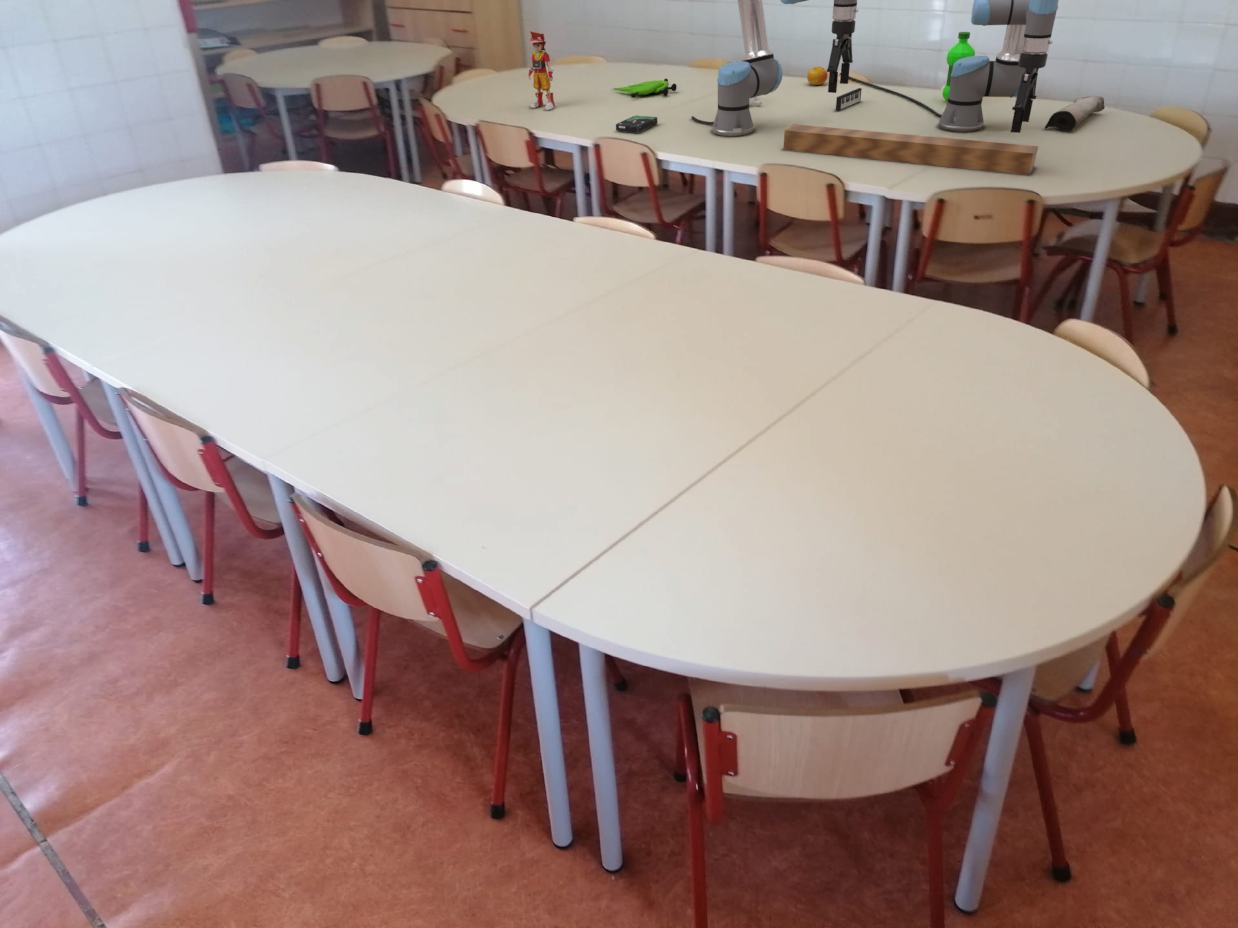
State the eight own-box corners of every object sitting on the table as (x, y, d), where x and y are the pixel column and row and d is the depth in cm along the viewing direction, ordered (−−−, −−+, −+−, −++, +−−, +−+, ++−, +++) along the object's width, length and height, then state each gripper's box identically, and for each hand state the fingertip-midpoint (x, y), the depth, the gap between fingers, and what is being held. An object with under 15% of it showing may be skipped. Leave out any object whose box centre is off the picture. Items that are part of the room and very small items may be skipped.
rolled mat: (1071, 101, 334) (1096, 83, 326) (1085, 121, 335) (1110, 105, 327) (1040, 123, 317) (1065, 105, 309) (1054, 144, 318) (1080, 127, 309)
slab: (783, 150, 314) (784, 130, 310) (792, 143, 320) (793, 124, 316) (1028, 175, 278) (1033, 153, 274) (1033, 167, 284) (1038, 146, 280)
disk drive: (638, 134, 340) (658, 124, 350) (638, 126, 338) (657, 116, 349) (615, 131, 345) (635, 121, 355) (615, 124, 343) (635, 114, 353)
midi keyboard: (838, 111, 353) (839, 97, 350) (835, 110, 353) (836, 97, 350) (860, 101, 363) (861, 88, 360) (857, 101, 364) (859, 88, 361)
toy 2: (686, 85, 398) (631, 84, 414) (685, 72, 395) (629, 72, 411) (651, 104, 381) (596, 103, 397) (650, 92, 378) (594, 91, 394)
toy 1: (525, 109, 381) (517, 32, 364) (534, 104, 388) (527, 28, 371) (550, 110, 377) (543, 32, 360) (559, 105, 384) (553, 28, 367)
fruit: (802, 77, 388) (813, 60, 385) (805, 81, 396) (816, 64, 392) (818, 88, 386) (829, 71, 383) (820, 91, 394) (832, 74, 391)
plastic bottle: (973, 101, 354) (984, 32, 339) (955, 106, 349) (966, 36, 335) (952, 97, 361) (962, 29, 346) (934, 102, 356) (944, 33, 342)
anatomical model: (728, 78, 372) (752, 71, 371) (732, 103, 378) (755, 97, 377) (735, 86, 359) (759, 79, 359) (739, 112, 365) (763, 106, 365)
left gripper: (844, 27, 285) (837, 97, 298) (865, 14, 303) (859, 80, 315) (821, 26, 288) (816, 95, 301) (844, 13, 306) (838, 79, 318)
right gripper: (1040, 61, 254) (1024, 138, 266) (1055, 45, 271) (1039, 118, 283) (1012, 60, 257) (998, 136, 269) (1028, 44, 275) (1014, 116, 287)
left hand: (838, 88), depth 308 cm, fingers open, 13 cm apart
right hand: (1019, 127), depth 276 cm, fingers open, 13 cm apart
